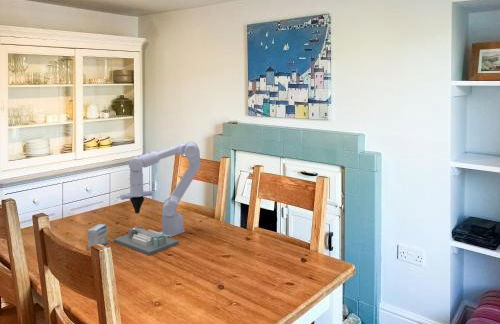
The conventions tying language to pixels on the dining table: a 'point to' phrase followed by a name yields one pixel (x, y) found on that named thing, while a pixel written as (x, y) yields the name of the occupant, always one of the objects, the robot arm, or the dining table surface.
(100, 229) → the medicine box
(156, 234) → the strap
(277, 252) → the dining table surface
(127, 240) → the heatsink board
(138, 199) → the robot arm
